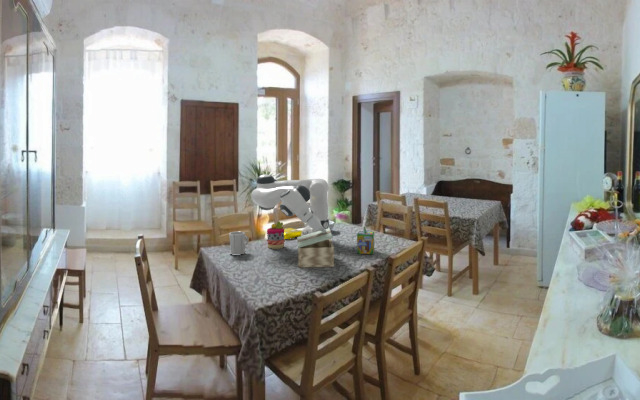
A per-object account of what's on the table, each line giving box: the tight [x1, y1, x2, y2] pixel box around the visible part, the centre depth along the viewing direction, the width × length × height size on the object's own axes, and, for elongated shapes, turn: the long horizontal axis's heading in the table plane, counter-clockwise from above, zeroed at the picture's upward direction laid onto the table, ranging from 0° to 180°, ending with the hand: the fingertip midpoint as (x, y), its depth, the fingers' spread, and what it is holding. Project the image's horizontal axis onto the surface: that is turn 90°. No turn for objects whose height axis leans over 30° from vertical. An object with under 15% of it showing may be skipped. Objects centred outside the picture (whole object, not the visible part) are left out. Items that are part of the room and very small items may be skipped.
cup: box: [228, 231, 249, 255], centre depth 263 cm, size 10×9×12 cm
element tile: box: [283, 227, 303, 240], centre depth 308 cm, size 15×15×5 cm
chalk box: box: [356, 226, 375, 255], centre depth 264 cm, size 9×9×15 cm
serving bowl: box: [303, 220, 335, 231], centre depth 322 cm, size 21×21×7 cm
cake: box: [266, 221, 286, 250], centre depth 278 cm, size 10×11×15 cm
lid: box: [297, 228, 333, 249], centre depth 244 cm, size 18×20×1 cm
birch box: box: [297, 238, 335, 268], centre depth 245 cm, size 18×20×10 cm
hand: (325, 232), depth 244 cm, fingers closed
